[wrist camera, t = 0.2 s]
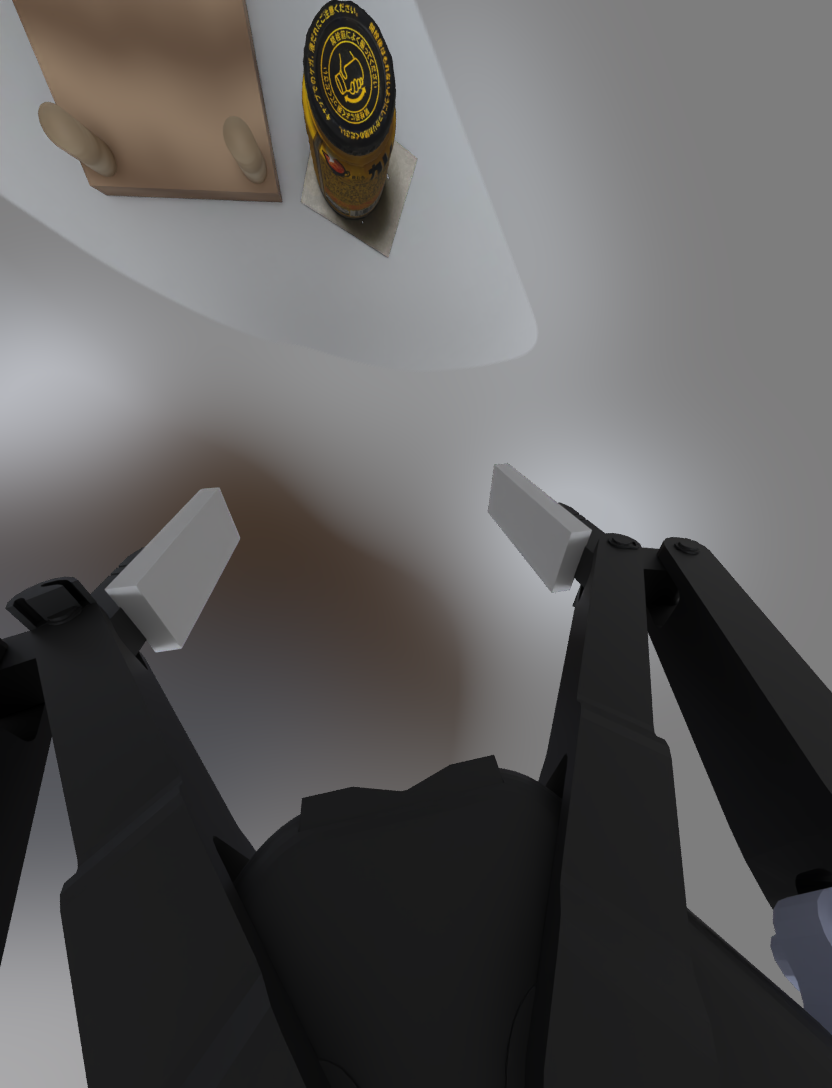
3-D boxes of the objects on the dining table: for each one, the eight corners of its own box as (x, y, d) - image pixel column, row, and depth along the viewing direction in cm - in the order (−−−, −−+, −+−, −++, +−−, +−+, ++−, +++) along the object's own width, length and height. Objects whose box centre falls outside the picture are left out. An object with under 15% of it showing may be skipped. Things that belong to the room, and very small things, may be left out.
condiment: (322, 83, 24) (304, -87, 14) (417, 159, 27) (455, 61, 18) (301, 202, 27) (274, 129, 18) (387, 258, 31) (406, 221, 21)
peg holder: (-56, -206, 17) (-222, -429, 12) (217, -154, 19) (170, -327, 14) (106, 195, 25) (48, 161, 20) (282, 202, 27) (267, 172, 22)
